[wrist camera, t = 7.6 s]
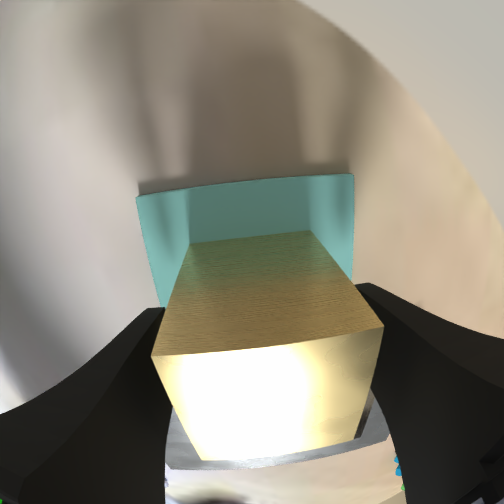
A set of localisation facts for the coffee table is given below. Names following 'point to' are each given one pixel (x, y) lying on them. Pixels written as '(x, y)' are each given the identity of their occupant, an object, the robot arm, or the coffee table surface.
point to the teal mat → (245, 218)
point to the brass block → (266, 347)
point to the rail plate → (187, 458)
